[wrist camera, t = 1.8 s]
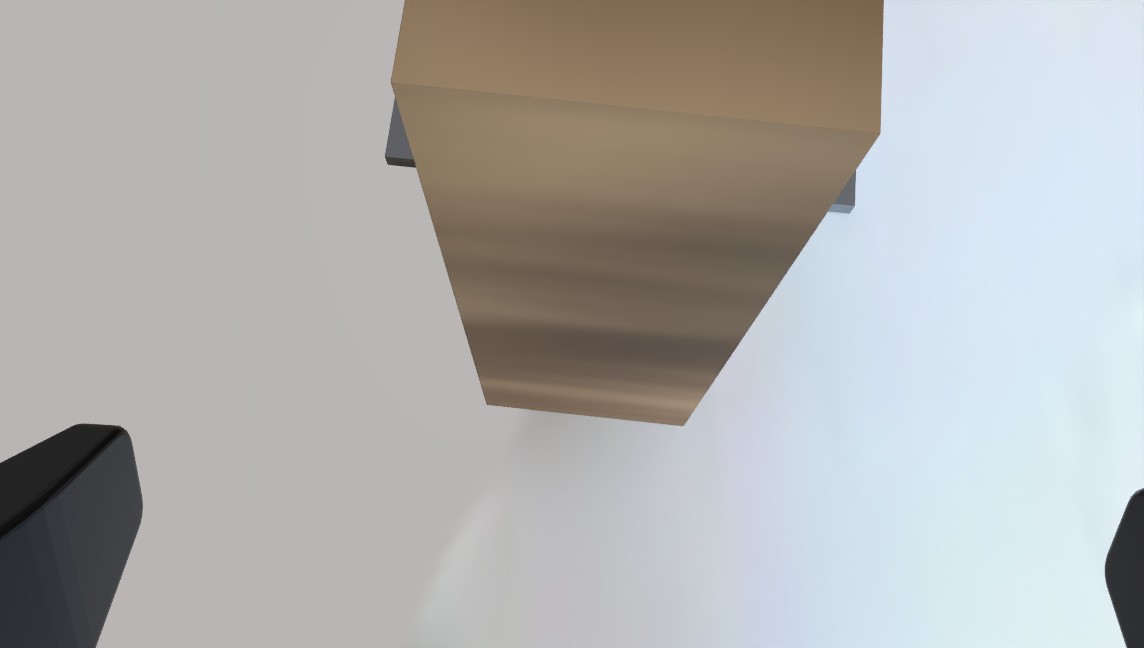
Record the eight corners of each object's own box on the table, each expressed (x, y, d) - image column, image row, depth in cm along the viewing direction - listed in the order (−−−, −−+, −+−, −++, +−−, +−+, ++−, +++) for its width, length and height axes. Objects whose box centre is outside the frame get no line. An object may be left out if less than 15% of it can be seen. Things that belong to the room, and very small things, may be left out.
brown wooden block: (683, 425, 21) (880, 132, 8) (486, 404, 21) (390, 81, 8) (697, 241, 22) (889, -261, 9) (510, 221, 22) (457, -304, 10)
